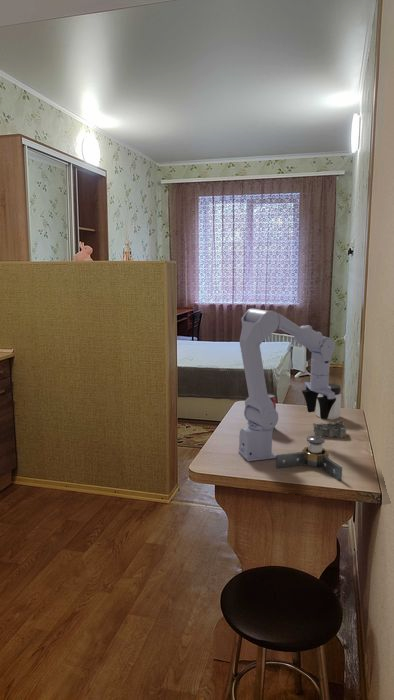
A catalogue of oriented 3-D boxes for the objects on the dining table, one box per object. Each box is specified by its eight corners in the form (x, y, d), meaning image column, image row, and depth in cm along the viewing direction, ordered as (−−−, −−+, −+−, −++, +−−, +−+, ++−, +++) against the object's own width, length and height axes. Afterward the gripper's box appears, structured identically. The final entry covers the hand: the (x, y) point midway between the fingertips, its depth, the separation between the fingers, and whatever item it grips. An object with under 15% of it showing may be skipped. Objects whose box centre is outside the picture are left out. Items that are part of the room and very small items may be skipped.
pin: (311, 466, 143) (313, 442, 142) (302, 460, 148) (303, 436, 146) (326, 464, 145) (328, 440, 143) (317, 458, 149) (318, 435, 148)
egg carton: (343, 431, 174) (344, 420, 173) (346, 439, 167) (347, 427, 166) (312, 429, 175) (313, 418, 175) (314, 437, 168) (314, 425, 167)
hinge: (298, 486, 130) (299, 473, 130) (270, 462, 145) (271, 451, 145) (351, 478, 135) (352, 466, 135) (318, 456, 150) (319, 445, 150)
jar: (343, 419, 187) (345, 388, 185) (323, 420, 185) (325, 389, 183) (331, 412, 196) (333, 382, 194) (312, 413, 194) (314, 383, 192)
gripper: (344, 378, 152) (341, 420, 155) (318, 368, 166) (316, 407, 168) (324, 379, 150) (321, 422, 152) (299, 369, 164) (297, 409, 166)
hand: (317, 415), depth 160 cm, fingers open, 7 cm apart
